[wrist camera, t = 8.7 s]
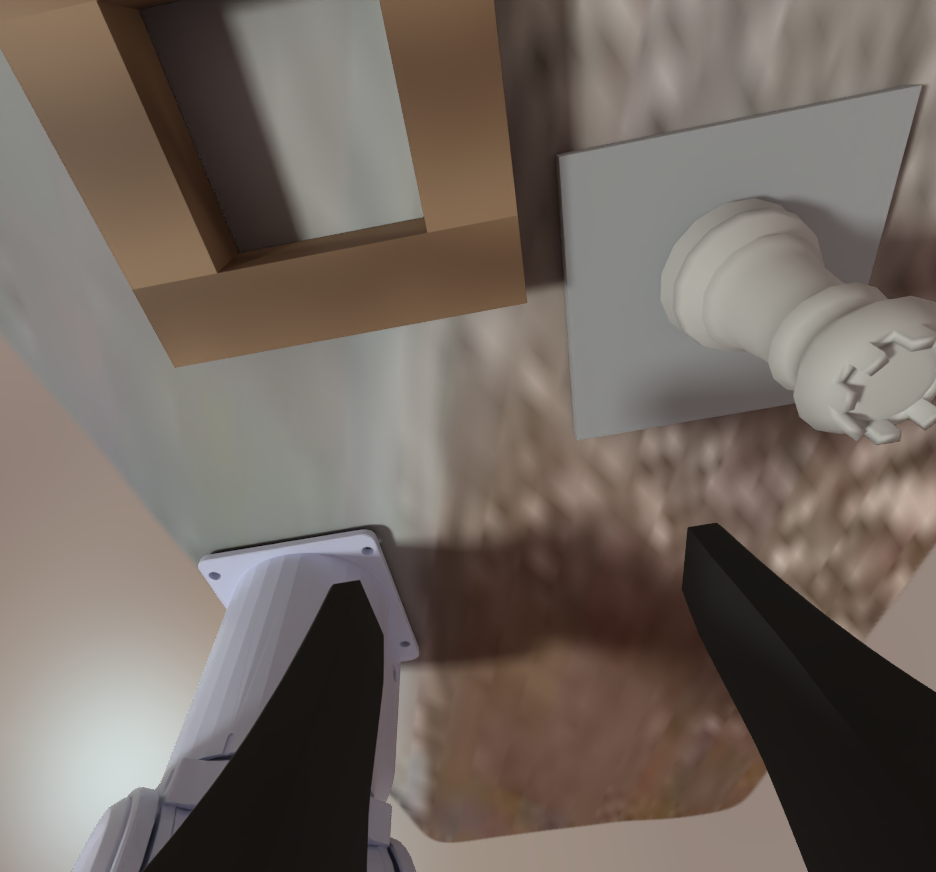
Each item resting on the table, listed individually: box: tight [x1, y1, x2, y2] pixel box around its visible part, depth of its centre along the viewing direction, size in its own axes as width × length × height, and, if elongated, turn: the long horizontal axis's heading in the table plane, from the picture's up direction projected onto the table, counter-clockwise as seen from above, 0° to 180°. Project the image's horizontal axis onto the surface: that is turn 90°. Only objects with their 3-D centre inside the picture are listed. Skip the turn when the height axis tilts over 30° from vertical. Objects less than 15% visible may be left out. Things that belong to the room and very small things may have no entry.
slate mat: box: [556, 85, 922, 440], centre depth 18 cm, size 10×10×1 cm
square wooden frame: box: [0, 0, 527, 368], centre depth 14 cm, size 11×11×2 cm
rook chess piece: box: [660, 198, 936, 445], centre depth 14 cm, size 4×4×8 cm
